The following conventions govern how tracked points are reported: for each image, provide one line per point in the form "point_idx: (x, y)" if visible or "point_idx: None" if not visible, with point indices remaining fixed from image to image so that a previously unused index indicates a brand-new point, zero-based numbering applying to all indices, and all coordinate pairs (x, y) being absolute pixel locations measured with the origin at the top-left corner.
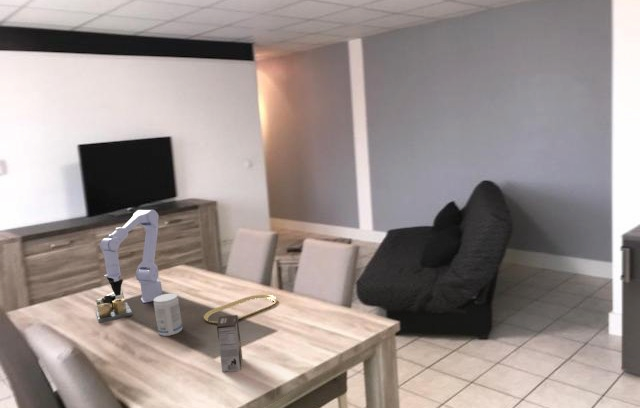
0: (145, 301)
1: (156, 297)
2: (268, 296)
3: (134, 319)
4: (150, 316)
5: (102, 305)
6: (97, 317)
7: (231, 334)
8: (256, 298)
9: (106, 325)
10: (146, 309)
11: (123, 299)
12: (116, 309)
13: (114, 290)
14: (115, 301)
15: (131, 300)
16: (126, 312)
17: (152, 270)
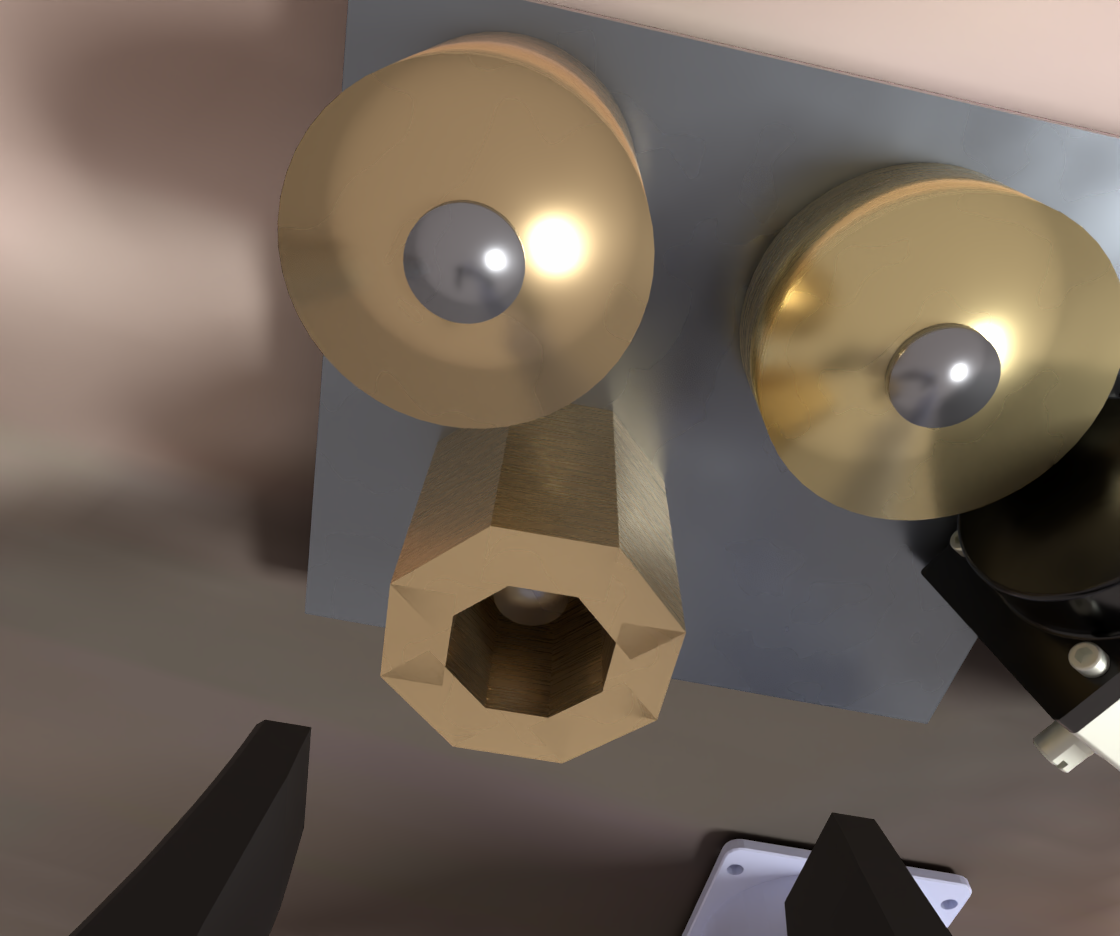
0: (741, 871)
1: None
2: None
3: (60, 523)
4: (41, 703)
5: (417, 220)
6: (716, 43)
7: None
8: None
9: (57, 39)
10: (413, 769)
11: (498, 739)
12: (457, 462)
13: (133, 900)
14: (586, 592)
15: (1071, 788)
16: (343, 545)
17: None
